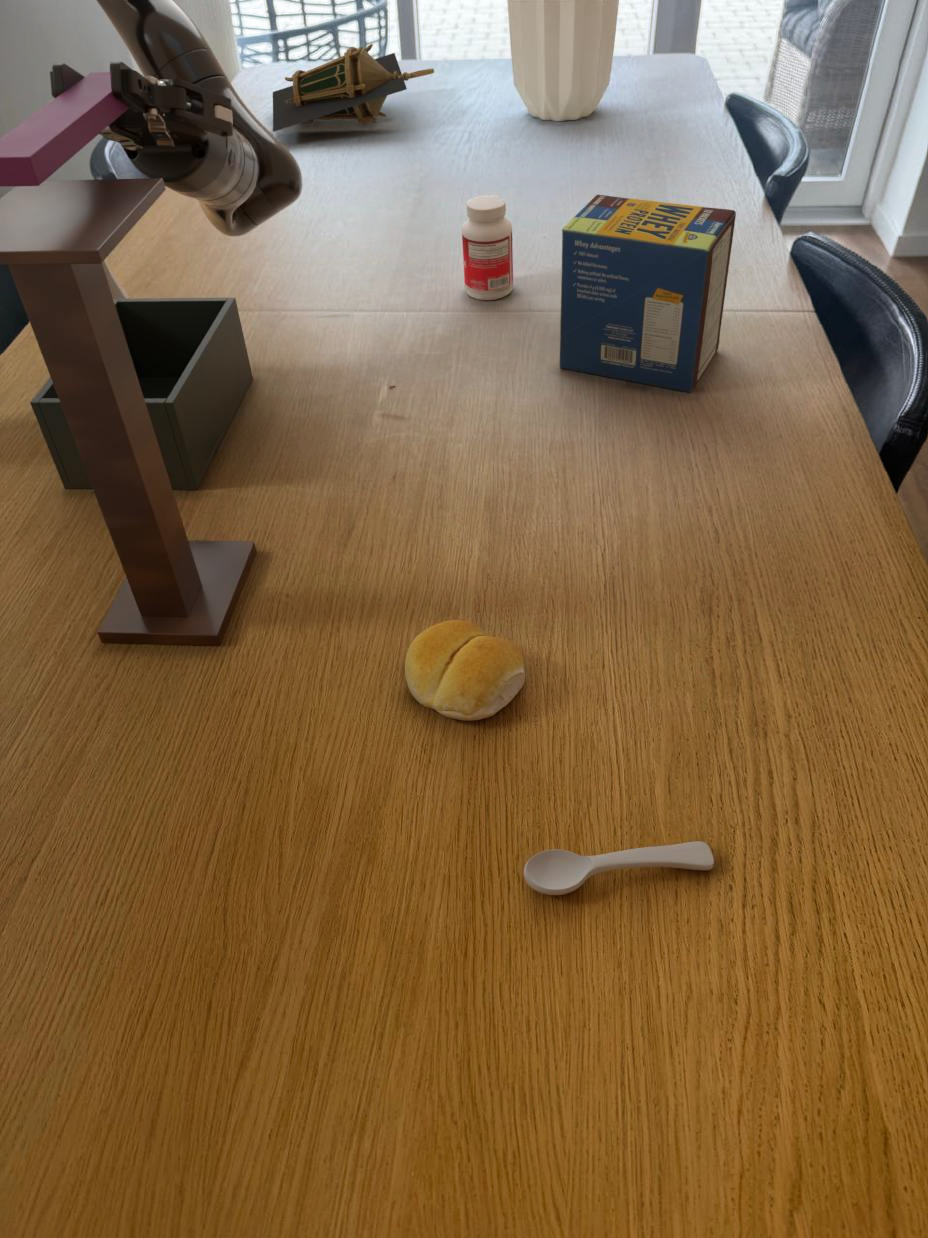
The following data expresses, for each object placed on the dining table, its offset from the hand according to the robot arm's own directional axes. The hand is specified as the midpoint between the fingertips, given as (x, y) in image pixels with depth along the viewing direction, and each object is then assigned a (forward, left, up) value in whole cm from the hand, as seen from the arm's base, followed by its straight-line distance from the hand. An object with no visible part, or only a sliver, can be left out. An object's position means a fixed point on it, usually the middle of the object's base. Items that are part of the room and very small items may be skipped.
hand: (87, 79), depth 64 cm
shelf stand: (0, -10, -37) cm, 38 cm away
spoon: (+36, -35, -37) cm, 62 cm away
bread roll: (+25, -19, -37) cm, 49 cm away
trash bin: (-10, +16, -37) cm, 42 cm away
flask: (-25, +41, -37) cm, 61 cm away
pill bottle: (+22, +49, -37) cm, 66 cm away
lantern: (-8, +122, -37) cm, 128 cm away
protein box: (+40, +31, -37) cm, 63 cm away
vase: (+30, +124, -37) cm, 133 cm away
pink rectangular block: (0, -5, -2) cm, 5 cm away
